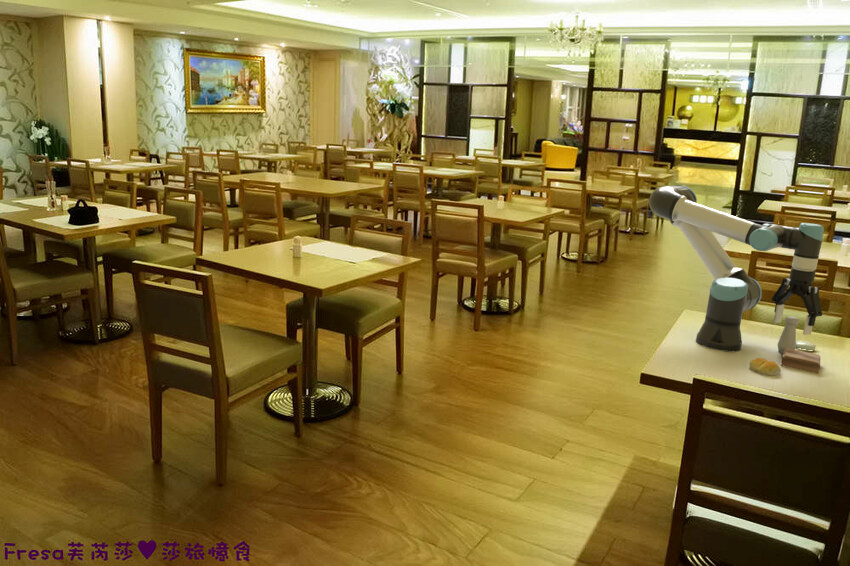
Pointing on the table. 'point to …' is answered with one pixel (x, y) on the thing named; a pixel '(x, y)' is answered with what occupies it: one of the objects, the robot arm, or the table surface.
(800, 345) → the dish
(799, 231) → the robot arm
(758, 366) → the bread roll
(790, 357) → the stand
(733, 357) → the table surface
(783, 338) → the salt shaker
